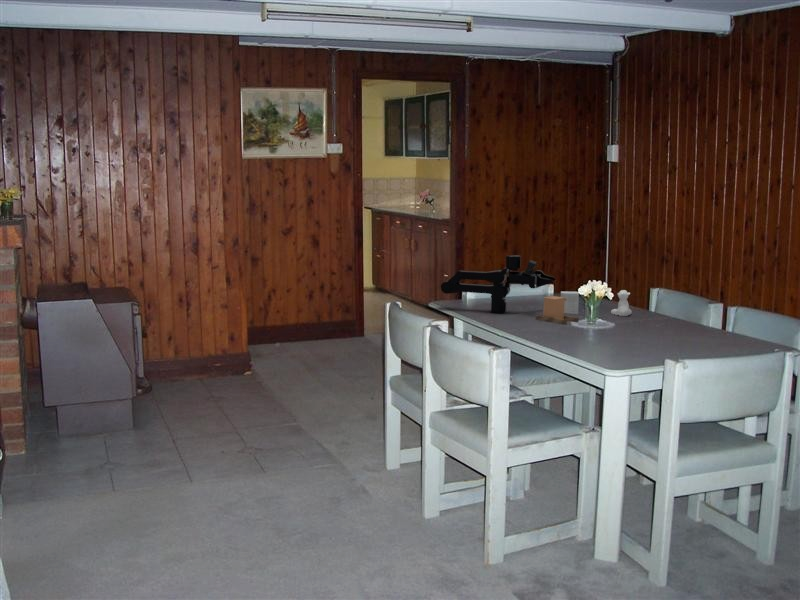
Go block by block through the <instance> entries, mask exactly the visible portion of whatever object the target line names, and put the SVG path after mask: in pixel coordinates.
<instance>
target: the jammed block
mask: <svg viewBox="0 0 800 600" xmlns="http://www.w3.org/2000/svg"><path fill="white" fill-rule="evenodd" d="M564 303H565V298H564V297H560V296H556V295H553V296H546V297H545V296H544V297H543V311H542V313H543V314H542V316H546V317H551V318H557V319H563V320H564V315H565V313H564Z"/></svg>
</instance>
